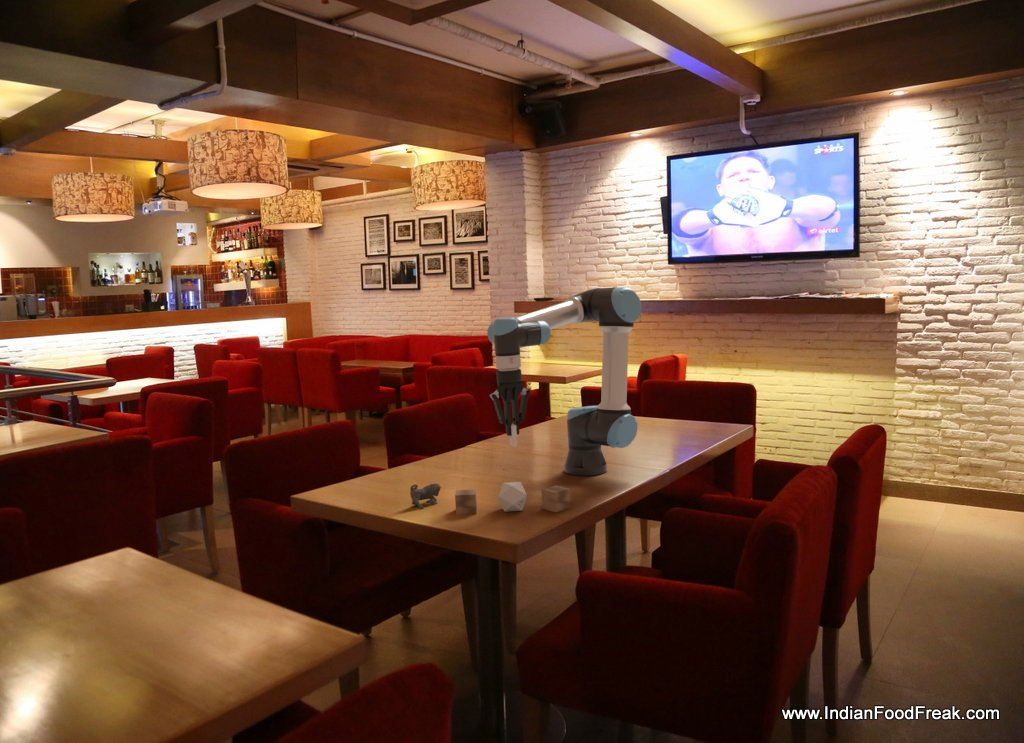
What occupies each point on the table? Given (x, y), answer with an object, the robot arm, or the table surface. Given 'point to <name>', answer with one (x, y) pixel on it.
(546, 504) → the walnut block
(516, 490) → the die
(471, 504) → the walnut block
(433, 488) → the dog figurine
